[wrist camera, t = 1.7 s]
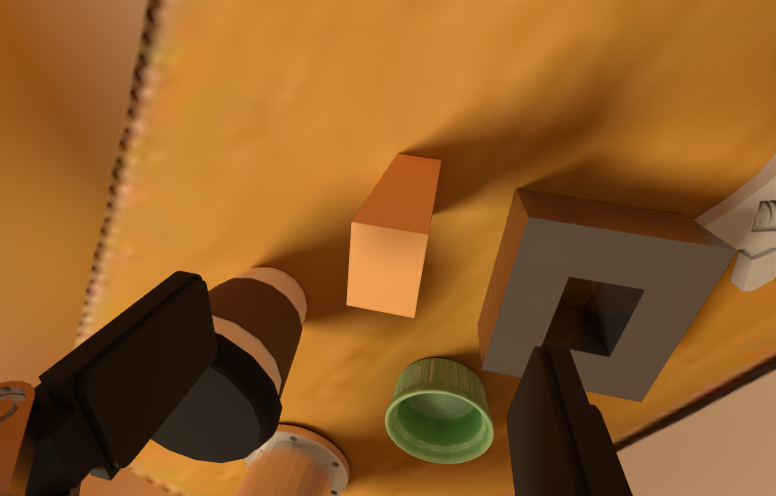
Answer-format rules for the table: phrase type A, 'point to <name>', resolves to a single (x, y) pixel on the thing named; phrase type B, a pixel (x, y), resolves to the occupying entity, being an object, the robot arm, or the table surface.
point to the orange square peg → (393, 237)
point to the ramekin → (440, 412)
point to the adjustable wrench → (749, 228)
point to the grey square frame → (597, 288)
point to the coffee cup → (240, 369)
